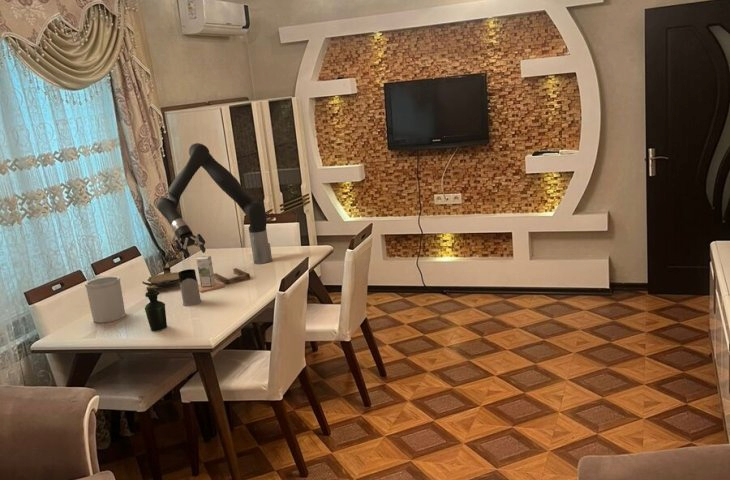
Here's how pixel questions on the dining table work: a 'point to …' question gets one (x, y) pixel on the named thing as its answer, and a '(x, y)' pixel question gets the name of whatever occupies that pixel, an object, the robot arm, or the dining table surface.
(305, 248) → the dining table surface
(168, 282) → the oil lamp
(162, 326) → the potion bottle
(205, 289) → the terracotta pad
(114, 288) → the utensil holder
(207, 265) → the syrup box
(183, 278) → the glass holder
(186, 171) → the robot arm
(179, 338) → the dining table surface
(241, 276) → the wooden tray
